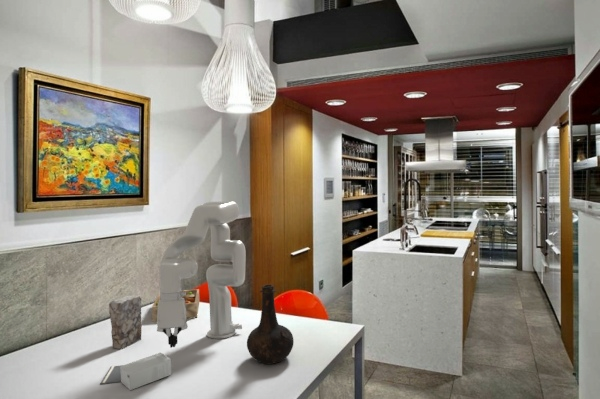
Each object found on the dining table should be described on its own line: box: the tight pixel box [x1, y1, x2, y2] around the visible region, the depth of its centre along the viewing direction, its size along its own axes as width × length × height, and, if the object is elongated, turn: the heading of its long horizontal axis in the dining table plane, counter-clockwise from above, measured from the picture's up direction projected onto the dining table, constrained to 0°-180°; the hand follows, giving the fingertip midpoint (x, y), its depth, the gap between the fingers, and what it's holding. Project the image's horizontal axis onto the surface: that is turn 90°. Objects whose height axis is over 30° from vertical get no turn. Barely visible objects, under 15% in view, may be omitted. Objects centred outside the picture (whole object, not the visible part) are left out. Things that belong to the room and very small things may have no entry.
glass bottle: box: [246, 284, 295, 365], centre depth 156 cm, size 18×18×28 cm
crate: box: [151, 288, 200, 323], centre depth 227 cm, size 22×32×8 cm
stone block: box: [108, 294, 143, 350], centre depth 178 cm, size 13×7×20 cm, turn 165°
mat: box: [100, 364, 124, 385], centre depth 148 cm, size 18×14×1 cm
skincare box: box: [119, 352, 172, 391], centre depth 142 cm, size 8×6×15 cm
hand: (173, 345), depth 150 cm, fingers closed
